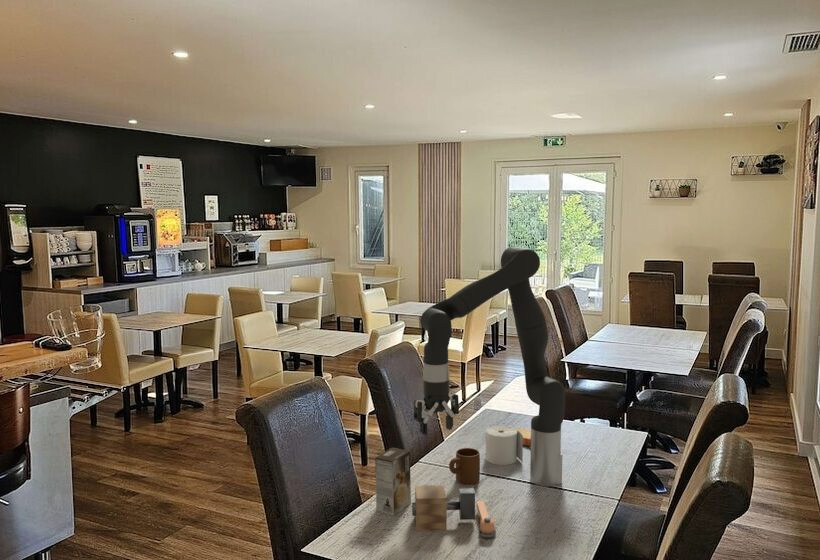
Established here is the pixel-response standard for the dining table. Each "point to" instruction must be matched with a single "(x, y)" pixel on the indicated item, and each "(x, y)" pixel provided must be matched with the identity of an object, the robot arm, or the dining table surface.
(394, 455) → the coffee box
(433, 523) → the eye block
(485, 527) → the latch bar
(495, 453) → the toilet tissue
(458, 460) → the mug
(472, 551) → the dining table surface
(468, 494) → the dark grey hammer
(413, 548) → the dining table surface
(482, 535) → the dark grey puck
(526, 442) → the slice of bread
